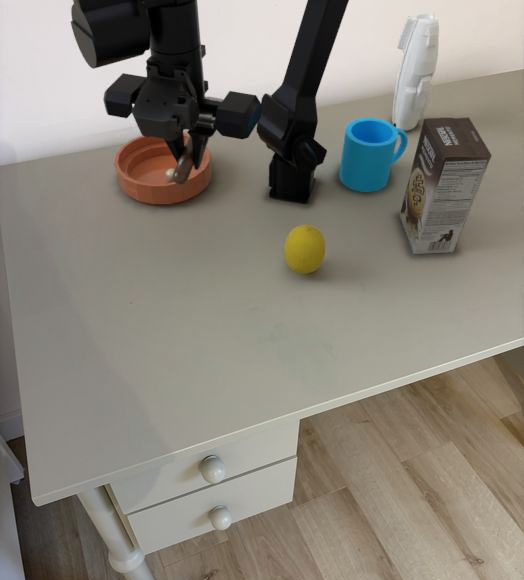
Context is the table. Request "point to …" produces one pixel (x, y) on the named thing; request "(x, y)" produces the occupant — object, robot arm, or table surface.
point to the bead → (169, 175)
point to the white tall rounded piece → (415, 70)
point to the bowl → (157, 172)
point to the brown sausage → (184, 164)
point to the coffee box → (443, 183)
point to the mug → (369, 153)
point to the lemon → (304, 249)
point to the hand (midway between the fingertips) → (189, 166)
